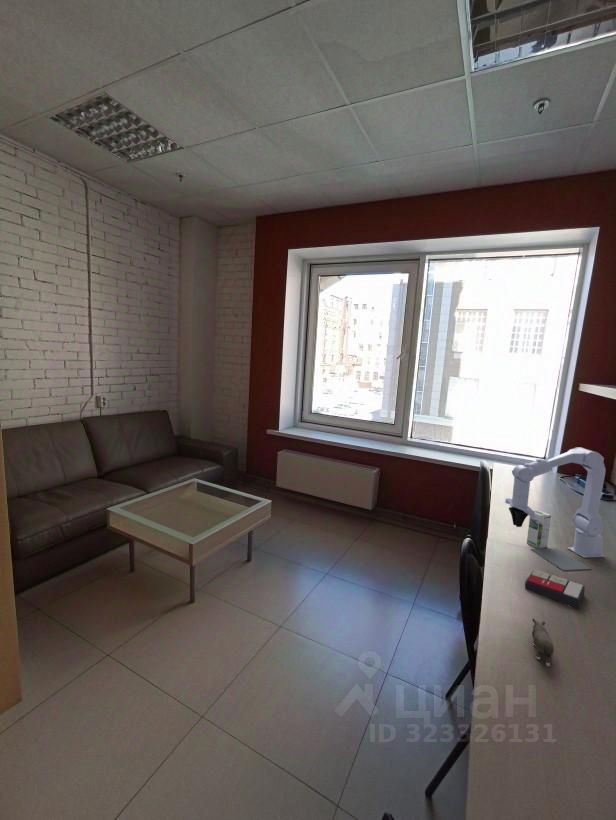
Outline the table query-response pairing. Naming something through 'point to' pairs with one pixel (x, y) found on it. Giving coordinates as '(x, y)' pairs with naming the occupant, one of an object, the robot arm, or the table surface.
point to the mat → (561, 559)
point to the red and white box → (555, 588)
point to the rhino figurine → (542, 640)
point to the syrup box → (539, 529)
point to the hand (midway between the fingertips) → (517, 525)
